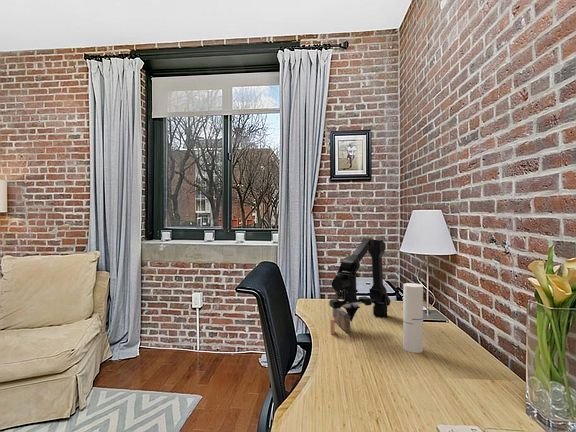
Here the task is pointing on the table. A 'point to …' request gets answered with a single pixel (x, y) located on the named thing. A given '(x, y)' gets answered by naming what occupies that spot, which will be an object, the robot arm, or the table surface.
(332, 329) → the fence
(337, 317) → the gate
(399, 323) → the table surface
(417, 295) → the cylindrical container
